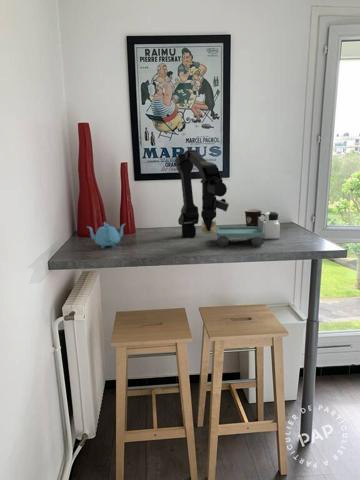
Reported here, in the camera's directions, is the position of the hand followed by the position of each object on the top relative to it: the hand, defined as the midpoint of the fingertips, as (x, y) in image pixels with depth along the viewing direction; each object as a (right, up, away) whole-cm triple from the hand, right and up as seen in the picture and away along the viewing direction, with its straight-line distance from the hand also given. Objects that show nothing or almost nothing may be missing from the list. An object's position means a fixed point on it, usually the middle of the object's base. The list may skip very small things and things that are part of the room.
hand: (208, 229), depth 158 cm
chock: (0, -1, 0) cm, 1 cm away
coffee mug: (+27, +1, +33) cm, 42 cm away
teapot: (-46, -7, +7) cm, 47 cm away
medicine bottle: (+31, -3, +16) cm, 35 cm away
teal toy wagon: (+14, -6, +7) cm, 17 cm away
